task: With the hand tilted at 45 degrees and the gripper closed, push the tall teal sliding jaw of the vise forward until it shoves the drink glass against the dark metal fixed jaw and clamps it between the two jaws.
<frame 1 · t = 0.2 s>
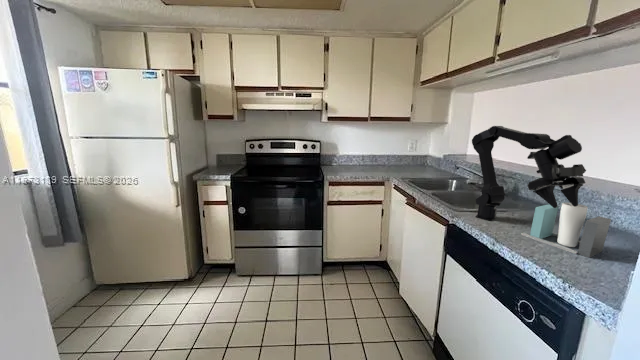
hand: (566, 206, 91), 15 cm above the worktop, tool tilted 35°, fingers open, 9 cm apart
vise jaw: (544, 221, 103), point 6 cm above the worktop, slide at 0.0 cm
fixed jaw: (589, 252, 92), on the worktop
drinking glass: (566, 245, 98), resting in fixed jaw, touching gripper
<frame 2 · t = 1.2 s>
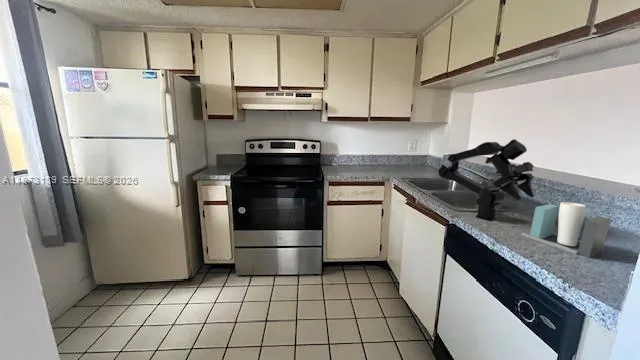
hand: (526, 198, 108), 13 cm above the worktop, tool tilted 45°, fingers open, 9 cm apart
drinking glass: (566, 244, 98), resting in fixed jaw
everything else where it was.
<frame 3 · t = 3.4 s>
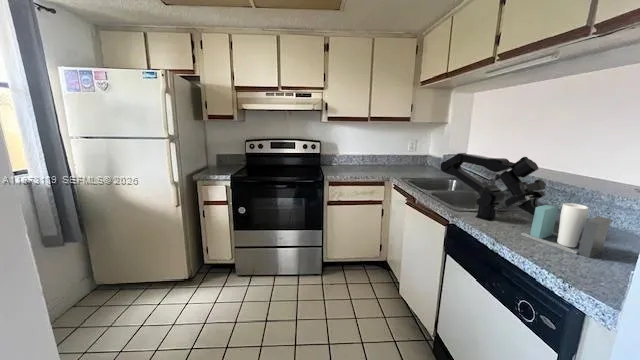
hand: (539, 217, 105), 7 cm above the worktop, tool tilted 45°, fingers closed, pressing on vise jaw
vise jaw: (544, 221, 103), point 6 cm above the worktop, slide at 0.0 cm, touching gripper
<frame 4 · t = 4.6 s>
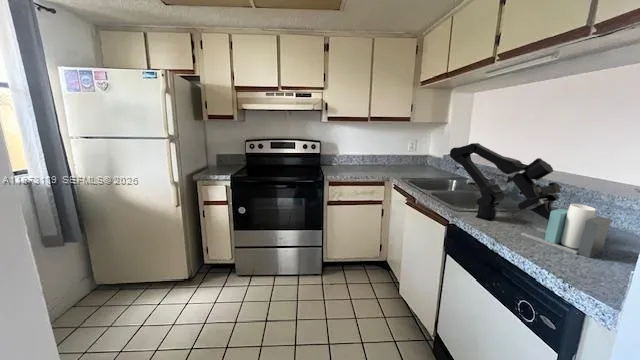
hand: (554, 221, 101), 7 cm above the worktop, tool tilted 45°, fingers closed, pressing on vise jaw
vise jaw: (559, 226, 99), point 6 cm above the worktop, slide at 4.8 cm, touching drinking glass, gripper
drinking glass: (569, 245, 97), resting in fixed jaw, touching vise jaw
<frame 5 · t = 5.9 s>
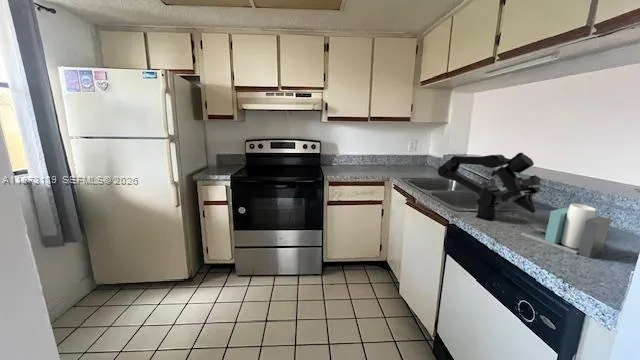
hand: (534, 212, 106), 9 cm above the worktop, tool tilted 45°, fingers closed
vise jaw: (559, 226, 99), point 6 cm above the worktop, slide at 4.8 cm, touching drinking glass
drinking glass: (569, 246, 97), resting in fixed jaw, touching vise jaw
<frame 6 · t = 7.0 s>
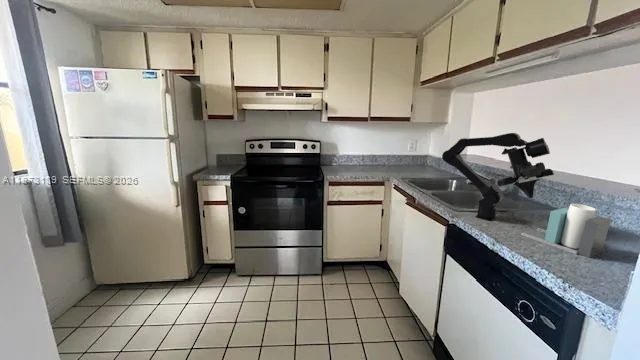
hand: (531, 198, 109), 13 cm above the worktop, tool tilted 25°, fingers closed
nothing on the worktop moved.
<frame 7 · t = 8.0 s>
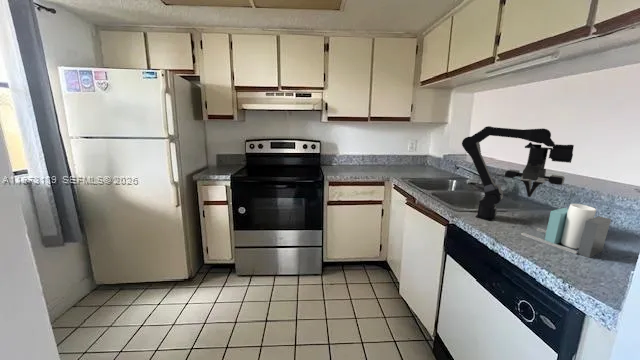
hand: (529, 196, 112), 13 cm above the worktop, tool pointing down, fingers closed
nothing on the worktop moved.
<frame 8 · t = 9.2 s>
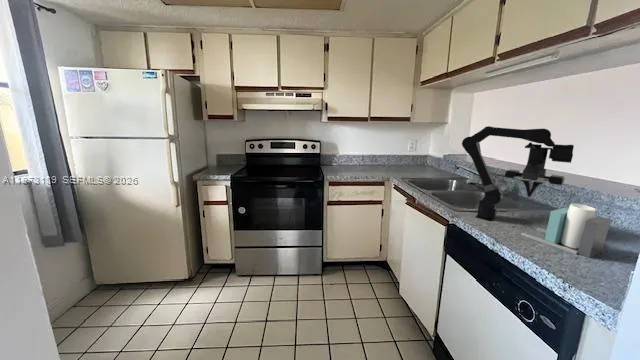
hand: (529, 196, 112), 13 cm above the worktop, tool pointing down, fingers closed
nothing on the worktop moved.
at the end: drinking glass 0.8 cm from the target spot on the fixed jaw, point 0.0 cm above the fixed jaw's base; drinking glass tilted 4°; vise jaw slide at 4.8 cm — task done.
